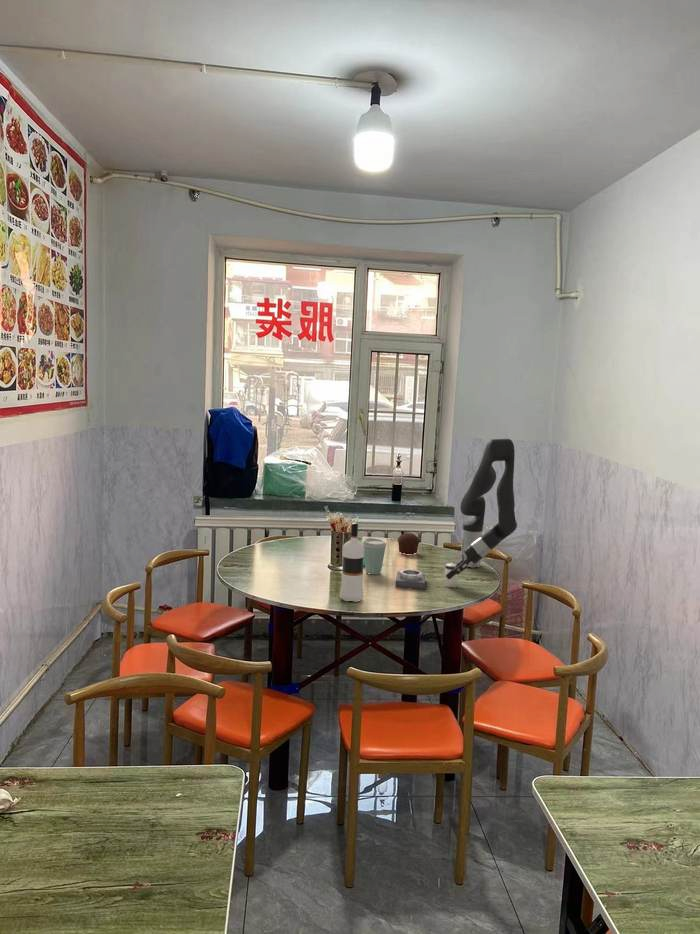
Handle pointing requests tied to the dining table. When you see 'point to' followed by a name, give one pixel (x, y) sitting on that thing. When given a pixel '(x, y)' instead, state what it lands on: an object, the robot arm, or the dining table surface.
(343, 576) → the vodka
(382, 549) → the disposable coffee cup
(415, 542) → the muffin
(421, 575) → the grey ring holder base
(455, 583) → the white banded cylinder
